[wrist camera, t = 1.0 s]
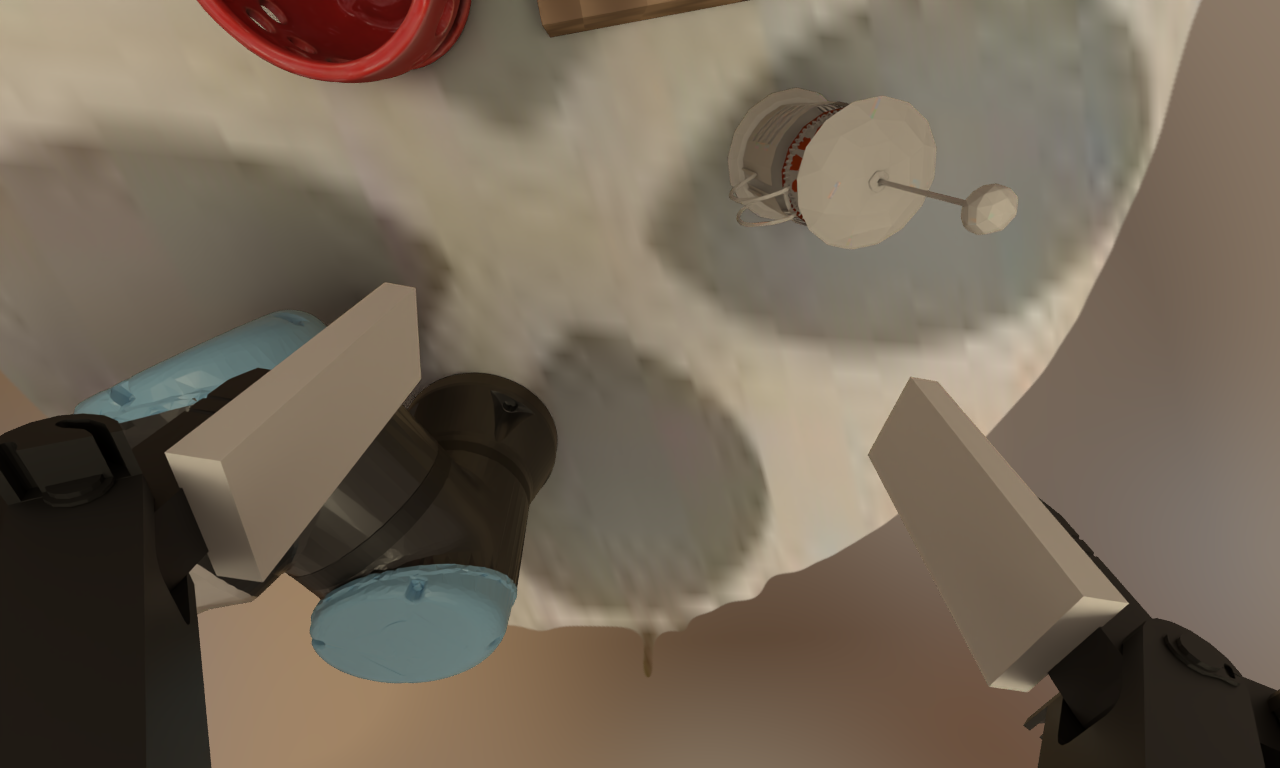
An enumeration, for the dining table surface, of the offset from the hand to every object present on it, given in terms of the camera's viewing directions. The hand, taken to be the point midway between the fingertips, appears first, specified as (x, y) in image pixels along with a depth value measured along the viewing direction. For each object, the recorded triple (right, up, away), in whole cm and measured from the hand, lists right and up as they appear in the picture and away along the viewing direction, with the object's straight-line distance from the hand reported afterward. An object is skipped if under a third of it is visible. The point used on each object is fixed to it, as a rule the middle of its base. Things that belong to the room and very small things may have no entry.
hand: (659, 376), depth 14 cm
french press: (+11, +18, +28) cm, 35 cm away
